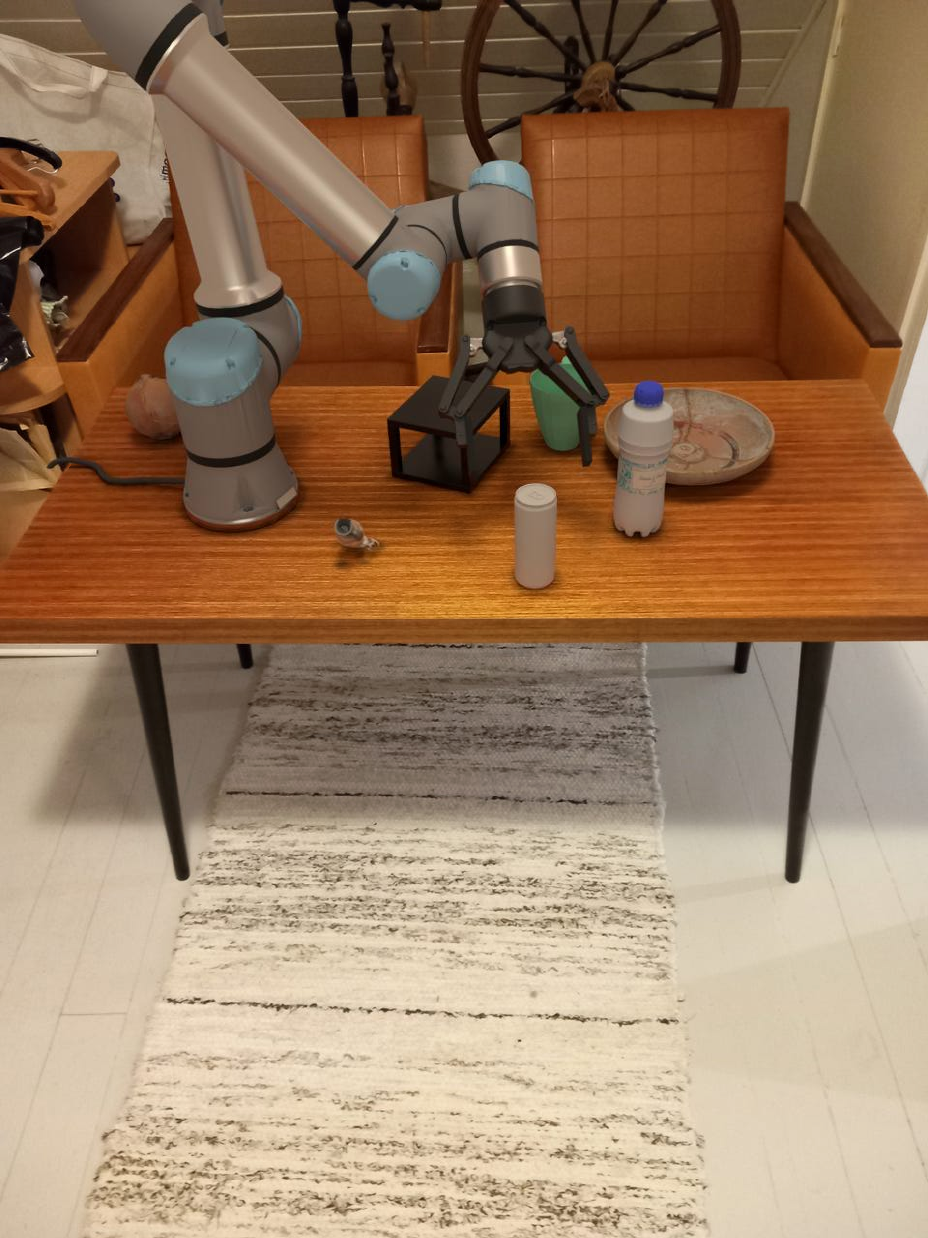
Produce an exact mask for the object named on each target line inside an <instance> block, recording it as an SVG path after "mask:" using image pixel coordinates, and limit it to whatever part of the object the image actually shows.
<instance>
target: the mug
mask: <svg viewBox="0 0 928 1238" xmlns="http://www.w3.org/2000/svg"><path fill="white" fill-rule="evenodd" d="M557 363H558V364H559V365H560V366H561V367H562V368H563V369H565V370H566V371H567V372H568V373H569V374H570V375H571V376H572V377H573V378H574V379H575V380H576V381H577V382H578V383H579V384H580V385H581V386H582V387H583V388H584V389H585V390H587V391H588V392H589V390H588V389H587V387H586V385H585V384H584V382H583V381H582V379H581V378H580V376H579V375H578V373H577V372H576V370H575V368H574V367H573V365H572V364H571V362H570V361H569V359H568V357H567V355H565V356H563V357H562V359H561V362H557ZM529 389H530V390H529V391H530V395H531V401H532V406H533V410H534V414H535V418H536V421H537V423H538V424H537V425H538V427H539V430H540V433H541V435H542V437H543V441H544V442H545V444H546V446H547V447H548V448H550V449H552V450H555V451H561V452H562V451H571V450H574V449H576V448H577V447H578V446H580V440H579V430H578V421H577V413H578V411H579V409H580V407H579V406H578V405H577V404H576V403H575V402H574V401H573V400H572V399H571V398H570V397H569V396H568V395H567V394H566V393H565V392H563V391H562V390H561V389H560V388H559V387H558V386H557V385H556V384H555V383H554V382H553V381H552V380H551V379H550V378H549V377H548V376H546V375H544V374H543V373H542V372H541V371H540V370H538V369H535V370H533V371H532V372H531V374H530V376H529ZM589 393H590V392H589ZM590 394H591V393H590Z"/></svg>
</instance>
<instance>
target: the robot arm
mask: <svg viewBox="0 0 928 1238" xmlns="http://www.w3.org/2000/svg"><path fill="white" fill-rule="evenodd" d="M224 2H225V0H71V3H72V5H73V8H74V10H75V13H76V15H77V17H78V18H79V20H80V22H81V23H82V25H83V27H84V28H85V30H86V31H87V33H88V34H89V35H90V37H91V38H92V39H93V41H94V42H95V43H96V44H97V45H98V46H99V48H101V50H102V51H103V52H104V53H105V54H106V55H107V56H108V57H109V59H110V60H112V61H113V62H114V63H115V64H116V65H117V66H118V67H119V68H120V69H121V70H122V71H123V72H124V73H125V74H126V75H127V76H128V77H130V78H131V79H132V80H133V82H135V83H136V84H137V85H138V86H139V87H140V88H142V90H143V91H145V92H146V93H147V95H150V98H151V101H152V105H153V108H154V114H155V116H156V120H157V124H158V127H159V131H160V135H161V138H162V142H163V146H164V149H165V152H166V156H167V160H168V163H169V167H170V171H171V175H172V178H173V181H174V185H175V190H176V192H177V197H178V201H179V203H180V208H181V211H182V215H183V219H184V223H185V225H186V229H187V232H188V237H189V240H190V243H191V247H192V251H193V255H194V258H195V262H196V266H197V269H198V273H199V276H200V283H199V285H198V287H197V288H196V290H195V292H193V300H194V303H195V306H196V311H197V314H198V318H199V320H198V321H195V322H192V325H191V326H184V327H181V328H180V330H178V331H176V332H175V333H174V334H173V336H172V337H170V339H169V340H168V342H167V343H166V347H165V349H164V354H163V357H164V358H163V359H164V365H165V379H166V380H167V383H168V386H169V388H170V390H171V394H172V398H173V402H174V406H175V410H176V414H177V418H178V422H179V426H180V430H181V432H180V433H181V437H182V441H183V445H184V449H185V453H186V458H187V460H186V468H185V476H184V478H180V477H179V478H177V477H151V476H150V477H148V476H147V477H143V476H142V477H123V478H121V477H115V476H110V475H107V473H106V472H105V471H104V468H103V467H102V466H101V465H100V464H99V463H97V462H95V461H92V460H89V459H84V458H79V457H75V456H74V457H73V456H63V457H57V458H55V459H52V460H51V461H50V462H49V463H48V464H47V466H46V469H48V470H52V469H54V468H55V467H56V466H58V465H60V464H76V465H81V466H85V467H88V468H93V469H94V470H95V471H96V472H97V474H98V475H99V477H100V478H101V479H102V480H103V481H105V482H107V483H109V484H115V485H136V484H158V485H162V484H163V485H182V486H183V485H184V486H183V494H182V500H183V503H184V508H185V512H186V514H187V517H188V518H189V519H190V520H191V521H192V522H193V523H195V524H196V525H197V526H200V527H202V528H204V529H208V530H211V531H216V532H217V531H218V532H229V533H230V532H244V531H250V530H255V529H259V528H262V527H265V526H268V525H270V524H273V523H274V522H277V521H278V520H280V519H282V518H283V517H285V516H287V514H289V513H290V512H291V511H292V510H293V509H294V508H295V507H296V505H297V503H298V500H299V498H300V489H299V484H298V478H297V476H296V474H295V472H294V471H293V469H292V468H291V467H290V466H289V465H288V462H287V460H286V458H285V455H284V453H283V452H282V449H281V448H280V445H279V444H278V442H277V437H276V432H275V425H274V420H273V414H272V409H271V400H272V397H273V396H274V394H275V393H276V391H277V389H278V387H279V386H280V385H281V383H282V381H283V379H284V377H285V376H286V375H287V373H288V371H289V370H290V368H291V367H292V365H293V364H294V362H295V361H296V359H297V357H298V354H299V352H300V348H301V343H302V340H303V322H302V317H301V315H300V314H301V313H300V312H299V310H298V307H297V306H296V304H295V303H294V301H293V300H292V298H290V297H289V296H287V295H286V294H285V290H284V286H283V281H282V279H281V277H280V276H279V275H277V274H276V273H275V272H273V271H271V270H270V269H269V268H268V266H267V263H266V258H265V254H264V250H263V246H262V241H261V236H260V233H259V229H258V223H257V219H256V215H255V211H254V206H253V202H252V198H251V193H250V189H249V185H248V179H247V176H246V171H247V172H248V174H250V175H251V176H252V177H253V178H254V179H255V180H256V181H258V182H259V184H260V185H262V187H264V188H265V189H266V190H267V191H268V192H269V193H270V194H272V195H273V196H274V197H275V198H276V199H277V200H278V201H279V202H280V203H282V205H284V206H285V208H287V209H288V210H289V211H290V212H291V213H292V214H293V215H294V216H296V218H297V219H298V220H300V222H301V223H303V224H304V225H305V226H306V227H307V228H309V230H310V231H312V232H313V233H314V234H315V235H316V236H317V237H318V238H319V239H320V240H321V241H322V242H323V243H325V244H326V245H327V246H328V247H329V248H330V249H331V250H332V251H333V252H335V253H336V255H338V257H340V258H341V259H342V260H343V261H344V262H345V263H346V264H347V265H348V266H350V267H351V268H352V269H353V270H354V271H355V272H356V273H357V274H358V275H359V276H360V277H361V279H363V280H364V281H365V282H366V284H367V285H366V291H367V294H368V297H369V300H370V303H371V304H372V306H373V307H374V309H375V310H376V311H377V312H378V313H379V314H380V315H381V316H384V317H385V318H386V319H389V320H392V321H397V322H408V321H412V320H416V319H418V318H419V317H421V316H423V315H424V314H425V313H426V312H427V311H428V309H429V308H430V306H431V305H432V303H433V302H434V300H435V299H436V298H437V295H438V293H439V292H440V288H441V281H442V278H443V276H444V274H445V272H446V269H447V267H448V265H449V264H455V263H459V262H463V261H468V260H472V259H475V258H476V262H477V263H476V264H477V271H478V272H477V273H478V280H479V281H478V282H479V292H480V296H481V298H482V299H481V302H480V303H481V312H482V322H483V324H482V325H483V337H482V338H481V337H479V338H478V337H471V336H469V334H467V333H464V334H462V335H461V336H460V337H459V346H458V347H459V348H458V357H457V359H456V362H455V364H454V366H453V369H452V371H451V374H450V377H449V378H450V379H449V381H448V384H447V386H446V389H445V391H444V394H443V396H442V399H441V401H440V404H439V407H438V415H439V417H440V418H442V419H445V418H446V419H450V420H452V421H453V422H454V425H455V435H456V444H457V446H458V448H466V451H467V461H468V471H469V477H473V476H475V475H476V461H475V451H474V441H473V431H472V420H471V416H467V414H468V413H469V411H470V410H471V409H472V407H473V406H474V404H475V403H476V402H477V400H478V399H479V397H480V396H481V395H482V393H483V392H484V391H485V389H486V388H487V386H488V385H491V383H492V381H493V380H494V379H495V377H496V376H497V375H498V373H499V372H503V373H505V375H514V374H517V373H524V374H527V373H528V374H529V373H533V372H534V371H536V370H537V369H538V370H540V371H541V372H542V373H543V374H544V375H546V376H548V377H549V378H550V379H551V380H552V381H553V382H554V383H555V384H556V385H557V386H558V387H559V388H560V389H561V390H562V391H563V392H565V393H566V394H567V395H568V396H569V397H570V398H571V399H572V400H573V401H574V402H575V403H576V404H577V405H578V406H579V407H580V409H579V411H578V413H577V421H578V430H579V440H580V443H579V447H580V456H581V457H580V458H581V466H582V468H589V467H590V466H591V464H592V462H593V451H592V443H591V438H595V437H596V435H597V434H598V430H599V429H598V427H599V426H598V418H597V408H599V407H601V406H605V405H606V404H607V402H608V400H609V398H610V396H611V393H610V391H609V389H608V388H607V386H606V385H605V383H604V382H603V380H602V379H601V377H600V375H599V373H598V372H597V371H596V369H595V368H594V366H593V365H592V363H591V362H590V359H588V357H587V355H586V354H585V352H584V350H583V349H582V347H581V345H579V343H578V339H577V334H576V330H575V328H574V326H571V325H568V326H566V327H565V329H564V330H560V331H555V332H551V331H550V329H549V327H548V321H547V312H546V302H545V301H546V300H545V294H544V292H543V291H542V290H543V287H544V283H543V273H542V266H541V257H540V247H539V238H538V227H537V226H538V225H537V214H536V203H535V199H534V195H533V188H532V187H533V186H532V181H531V175H530V173H529V171H528V170H527V169H526V168H525V167H524V166H523V165H521V164H520V163H519V162H516V161H511V160H505V159H503V160H502V159H501V160H500V159H499V160H498V159H497V160H493V161H489V162H486V163H484V164H483V165H482V166H480V167H476V168H475V169H474V170H473V171H472V173H471V175H470V177H469V180H468V188H467V191H463V192H460V193H459V194H454V195H450V196H446V197H445V196H444V197H441V198H436V199H432V200H428V201H423V202H419V203H415V204H409V205H400V206H398V207H397V208H394V209H391V208H389V206H387V204H386V203H385V202H384V201H382V200H381V199H380V198H379V197H378V196H377V195H376V194H375V193H374V192H373V191H372V190H371V189H370V188H369V187H368V186H367V185H366V184H365V183H364V182H363V181H362V180H361V179H360V178H359V177H357V175H356V174H355V173H353V171H352V170H350V169H349V167H347V166H346V165H345V163H343V161H341V160H340V159H339V158H338V156H336V155H335V154H334V153H333V152H332V151H331V150H330V149H329V148H328V147H327V146H326V145H325V144H324V143H323V142H322V141H320V139H319V138H318V137H316V135H315V134H313V133H312V132H311V130H310V129H308V128H307V127H306V126H305V124H304V123H302V122H301V121H300V120H299V119H298V118H297V117H296V116H295V114H293V113H292V112H291V111H290V110H289V109H288V108H287V107H286V106H285V105H284V104H283V103H282V102H281V101H280V100H278V98H277V97H275V95H274V94H272V93H271V92H270V91H269V90H268V89H267V88H266V87H265V86H264V84H262V83H261V82H260V81H259V79H257V78H256V77H255V76H254V75H253V73H251V72H250V71H249V70H248V69H247V68H246V67H245V66H243V64H241V62H240V61H239V60H237V59H236V58H235V56H234V55H233V54H231V53H230V51H228V49H229V48H230V41H229V37H228V33H227V27H226V23H225V18H224V14H223V8H222V7H223V5H224ZM552 345H555V346H557V347H558V349H559V350H560V351H564V352H565V353H564V354H565V356H567V357H568V359H569V361H570V362H571V364H572V365H573V367H574V368H575V370H576V372H577V373H578V375H579V376H580V378H581V379H582V381H583V382H584V384H585V385H586V387H587V389H588V390H589V392H590V393H591V394H590V393H589V392H588V391H587V390H585V389H584V388H583V387H582V386H581V385H580V384H579V383H578V382H577V381H576V380H575V379H574V378H573V377H572V376H571V375H570V374H569V373H568V372H567V371H566V370H565V369H563V368H562V367H561V366H560V365H559V364H558V363H559V362H557V360H556V358H555V357H554V356H553V355H552V354H551V353H550V352H549V350H550V349H551V348H552ZM479 350H480V351H481V350H482V352H483V353H484V354H485V355H486V356H487V358H488V362H486V363H485V367H484V368H483V369H482V370H481V372H480V374H479V375H478V376H477V377H476V379H475V380H474V383H473V385H472V386H471V388H470V389H469V390H468V392H467V393H466V394H465V396H464V397H463V399H462V400H461V401H460V403H459V404H458V406H457V407H454V406H452V404H453V402H454V399H455V396H456V394H457V391H458V389H459V386H460V384H461V381H462V380H463V379H464V376H465V374H466V371H467V369H468V365H469V362H470V359H472V358H474V357H476V355H477V353H478V351H479ZM466 416H467V417H466Z"/></svg>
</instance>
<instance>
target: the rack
mask: <svg viewBox="0 0 928 1238" xmlns="http://www.w3.org/2000/svg"><path fill="white" fill-rule="evenodd" d="M449 379H450V377H446V376H441V375H436V374H433V375H432V376H430V377H429V378H428V379H427V380H426V381H425V382H424V383H423V384H422V385H420V387H419V388H418V389H416V390H415V392H414V393H412V395H410V396H409V398H407V399H406V400H405V401H404V402H403V403H402V404H401V405H400V406H398V407H397V409H396V410H395V411H394V412H392V414H390V416H388V417H387V418H386V425H387V426H386V427H387V436H388V447H389V457H390V459H389V460H390V469H391V477H392V478H396V479H400V480H405V481H409V482H412V483H413V482H414V483H418V484H422V485H427V486H430V487H431V486H432V487H437V488H441V489H444V490H448V491H449V490H450V491H453V492H458V493H462V494H468V495H471V494H472V492H473V491H474V490H475V489H476V488H477V487H478V485H479V484H480V483H481V481H483V479H484V478H485V477H486V476H487V475H488V473H489V472H490V471H491V470H492V468H494V466H495V465H496V464H497V462H498V461H499V460H500V459H501V458H502V456H503V455H504V454H505V453H506V451H508V449H509V448H510V447H511V389H510V388H507V387H501V386H496V385H491V384H489V385H488V386H487V388H486V389H485V391H484V392H483V393H482V395H481V396H480V397H479V399H478V400H477V402H476V403H475V404H474V406H473V407H472V409H471V410H470V411H469V413H468V414H467V416H471V420H472V431H473V441H474V451H475V461H476V475H475V476H473V477H469V471H468V461H467V451H466V448H458V446H457V444H456V435H455V425H454V422H453V421H452V420H450V419H446V418H445V419H442V418H440V417H439V415H438V407H439V404H440V401H441V399H442V396H443V394H444V391H445V389H446V386H447V384H448V381H449ZM474 382H475V381H474ZM474 382H473V381H468V380H463V379H462V381H461V384H460V386H459V389H458V391H457V394H456V396H455V399H454V402H453V404H452V406H454V407H457V406H458V404H459V403H460V401H461V400H462V399H463V397H464V396H465V394H466V393H467V392H468V390H469V389H470V388H471V386H472V385H473V383H474ZM497 411H498V412H499V413H498V415H499V417H498V418H499V419H498V420H499V421H498V423H499V425H498V427H499V436H494V435H489V434H483V433H478V432H479V431H480V430H481V428H482V427H483V426H484V425H485V424H486V423H487V421H489V420H490V418H491V417H492V416H493V415H494V414H495V413H496V412H497ZM467 416H466V417H467ZM400 429H402V430H408V431H411V432H417V433H423V434H426V435H424V436H423V438H422V439H421V440H420V441H419V442H418V443H417V444H416V445H415V446H414V447H413V448H412V449H411V450H410V451H409V453H407V454H406V455H405V456H404V458H403V454H402V453H403V452H402V441H401V440H402V439H401V431H400Z"/></svg>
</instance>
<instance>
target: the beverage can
mask: <svg viewBox="0 0 928 1238" xmlns="http://www.w3.org/2000/svg"><path fill="white" fill-rule="evenodd" d="M513 500H514V501H513V502H514V503H513V504H514V578H515V580H516V582H518V584H519V585H520V586H522V587H524V588H527V589H531V590H538V589H543V588H545V587H547V586H549V585H550V584H551V583H552V582H553V581H554V579H555V574H556V548H557V547H556V546H557V515H558V497H557V492H556V490H555V489H554V488H553V487H551V486H550V485H547V484H545V483H537V482H536V483H529V484H524V485H521V486H520V487H519V488H518V489H516V492H515V496H514V499H513Z"/></svg>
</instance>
